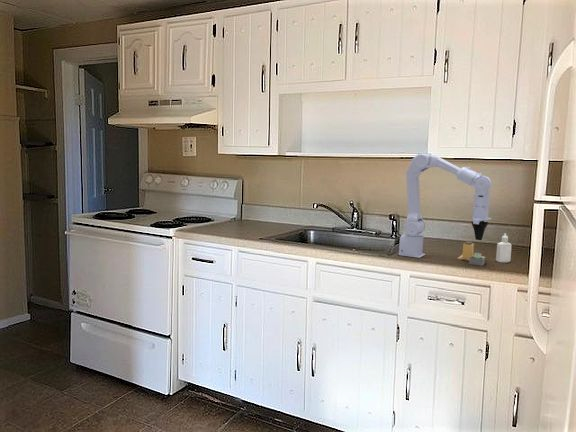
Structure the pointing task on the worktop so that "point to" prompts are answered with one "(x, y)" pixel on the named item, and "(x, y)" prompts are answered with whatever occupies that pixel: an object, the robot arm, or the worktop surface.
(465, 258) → the compartment tray
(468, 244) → the block
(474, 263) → the button housing
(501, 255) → the eye dropper bottle
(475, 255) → the button
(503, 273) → the worktop surface
